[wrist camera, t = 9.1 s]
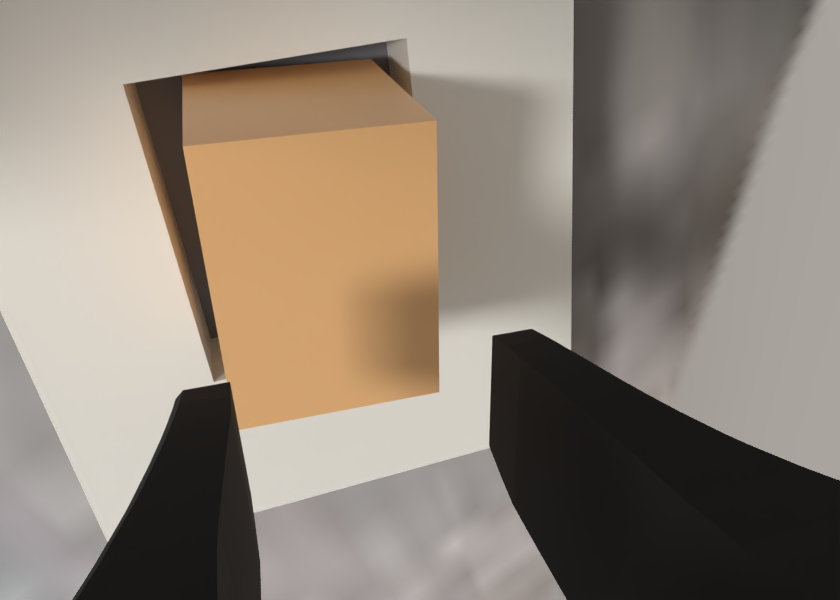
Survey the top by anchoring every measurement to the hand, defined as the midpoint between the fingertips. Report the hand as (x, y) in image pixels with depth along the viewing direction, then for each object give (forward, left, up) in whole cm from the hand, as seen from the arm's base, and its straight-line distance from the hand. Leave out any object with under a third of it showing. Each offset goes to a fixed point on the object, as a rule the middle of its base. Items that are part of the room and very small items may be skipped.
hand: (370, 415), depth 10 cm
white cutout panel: (0, 0, -9) cm, 9 cm away
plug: (0, 0, -9) cm, 9 cm away
